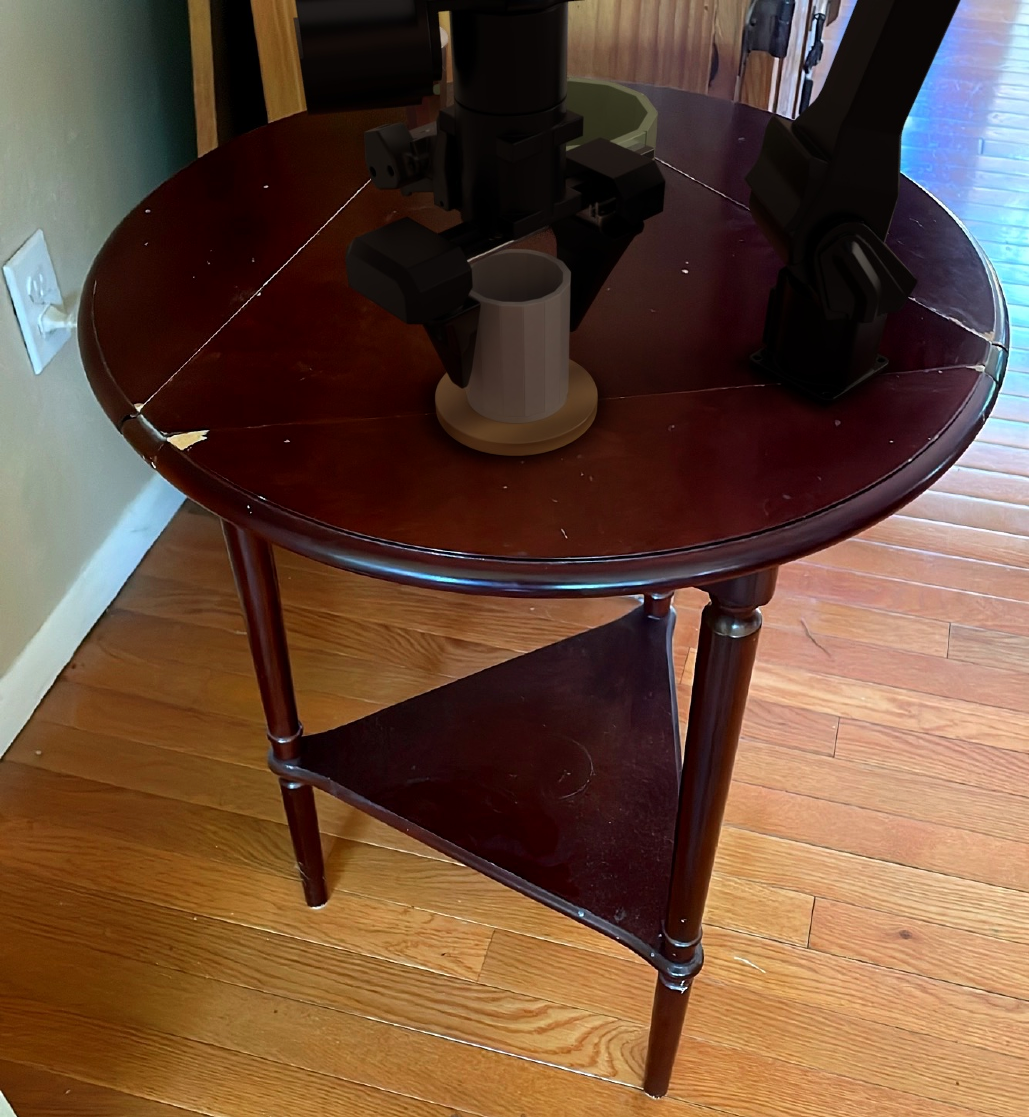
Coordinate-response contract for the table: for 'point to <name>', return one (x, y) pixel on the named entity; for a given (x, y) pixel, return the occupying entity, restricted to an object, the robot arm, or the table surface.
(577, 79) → the big pot
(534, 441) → the disc
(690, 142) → the table surface
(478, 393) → the small pot
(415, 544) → the table surface
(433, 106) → the milkshake
